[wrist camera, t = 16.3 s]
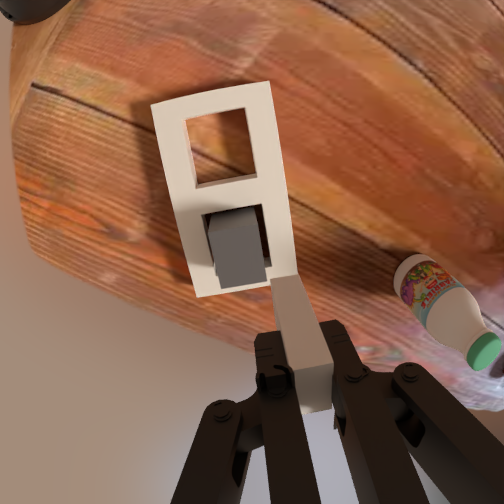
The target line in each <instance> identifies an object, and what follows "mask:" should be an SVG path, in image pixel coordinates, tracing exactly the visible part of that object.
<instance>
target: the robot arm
mask: <svg viewBox="0 0 504 504" xmlns="http://www.w3.org/2000/svg"><path fill="white" fill-rule="evenodd" d="M69 1H70V0H0V11H1V13H3V15H4V16H5V17H6V18H7V19H9V20H11V21H13V22H16V23H19V24H25V25H27V24H34V23H37V22H40V21H42V20H45V19H47V18H48V17H50V16H52V15H53V14H55V13H56V12H58V11H59V10H60V9H61V8H63V7H64V6H65V5H66V4H67V3H68V2H69ZM270 283H271V291H272V299H273V307H274V314H275V322H276V327H277V331H272V332H266V333H260V334H258V335H257V337H256V339H255V341H254V347H255V356H256V366H257V373H256V384H257V390H256V392H255V393H254V394H253V395H252V396H251V397H249V398H248V399H246V400H243V401H241V402H238V403H235V402H234V401H231V400H227V399H226V400H218V401H215V402H213V403H211V404H210V405H209V406H207V408H206V409H205V411H204V413H203V416H202V418H201V421H200V424H199V427H198V429H197V432H196V435H195V438H194V441H193V443H192V446H191V449H190V452H189V454H188V457H187V460H186V462H185V465H184V468H183V471H182V473H181V476H180V479H179V481H178V484H177V487H176V490H175V492H174V495H173V498H172V500H171V503H170V504H240V499H241V496H242V491H243V487H244V483H245V479H246V475H247V470H248V466H249V462H250V457H251V452H252V450H254V449H256V448H259V447H261V446H263V445H264V447H265V457H266V465H267V474H268V483H269V491H270V500H271V504H321V500H320V495H319V491H318V487H317V482H316V477H315V472H314V468H313V463H312V459H311V454H310V450H309V446H308V441H307V436H306V432H305V427H304V423H303V418H302V415H303V414H308V413H313V412H318V411H323V410H328V409H331V408H332V403H333V406H334V409H335V415H334V429H336V428H337V429H338V432H339V435H340V439H341V442H342V445H343V449H344V452H345V455H346V459H347V462H348V466H349V469H350V473H351V476H352V480H353V483H354V486H355V490H356V494H357V497H358V501H359V504H430V503H429V501H428V498H427V496H426V493H425V490H424V488H423V486H422V483H421V481H420V478H419V476H418V474H417V471H416V469H415V466H414V464H413V461H412V459H411V457H410V454H411V455H412V456H413V458H414V459H415V460H416V461H417V462H418V464H419V465H420V466H421V468H422V469H423V470H424V471H425V472H426V474H427V475H428V476H429V477H430V479H431V480H432V481H433V482H434V484H435V485H436V486H437V487H438V489H439V490H440V491H441V492H442V493H443V495H444V496H445V497H446V498H447V500H448V501H449V502H450V503H451V504H504V446H503V444H502V443H501V442H500V441H499V440H498V439H497V438H496V437H495V436H493V434H491V433H490V431H489V430H488V429H486V427H484V426H483V424H481V422H480V421H478V420H477V418H475V417H474V416H473V415H472V414H471V413H470V412H469V411H468V410H467V409H466V408H465V407H464V406H463V405H462V404H461V403H460V402H459V401H458V400H457V399H456V398H455V397H454V396H453V395H452V394H451V393H450V392H449V391H448V390H447V389H446V388H445V387H444V386H442V385H441V384H440V383H439V382H438V381H437V380H436V379H435V378H434V377H433V376H432V375H431V374H430V373H429V372H428V371H427V370H426V369H425V368H423V367H422V366H421V365H419V364H416V363H413V362H406V363H403V364H400V365H399V366H397V367H396V368H395V370H394V372H375V371H371V370H370V369H369V367H367V366H366V365H364V364H362V362H361V360H360V358H359V356H358V354H357V352H356V350H355V347H354V345H353V343H352V341H351V340H350V337H349V335H348V334H347V331H346V329H345V327H344V325H343V324H341V323H340V322H339V321H337V320H330V321H325V322H320V323H318V320H317V318H316V315H315V313H314V310H313V308H312V305H311V303H310V300H309V298H308V295H307V293H306V290H305V288H304V285H303V283H302V281H301V278H300V276H299V274H297V275H290V276H284V277H278V278H272V279H270ZM408 451H409V452H408ZM409 453H410V454H409Z"/></svg>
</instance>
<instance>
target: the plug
mask: <svg viewBox="0 0 504 504" xmlns="http://www.w3.org/2000/svg"><path fill="white" fill-rule="evenodd" d="M208 236H209V240H210V244H211V249H212V253H213V257H214V262H215V266H216V270H217V274H218V278H219V283H220V287H221V289H225V288H231V287H237V286H243V285H249V284H255V283H260V282H266V281H267V276H266V270H265V264H264V258H263V252H262V246H261V240H260V234H259V228H258V223H257V219H256V214H255V210H254V207H250V208H244V209H238V210H233V211H227V212H222V213H216V214H212V216H211V221H210V225H209V230H208Z"/></svg>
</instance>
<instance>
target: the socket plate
mask: <svg viewBox="0 0 504 504" xmlns="http://www.w3.org/2000/svg"><path fill="white" fill-rule="evenodd" d="M243 108H244V109H245V114H246V120H247V126H248V131H249V137H250V143H251V148H252V154H253V160H254V166H255V172H256V173H255V174H250V175H244V176H238V177H233V178H228V179H222V180H217V181H212V182H207V183H202V184H198V181H197V176H196V171H195V166H194V162H193V157H192V152H191V147H190V142H189V137H188V132H187V127H186V122H185V120H187V119H191V118H196V117H201V116H205V115H210V114H215V113H220V112H226V111H231V110H237V109H243ZM151 110H152V115H153V120H154V125H155V130H156V135H157V140H158V145H159V149H160V154H161V159H162V163H163V168H164V172H165V176H166V181H167V185H168V189H169V194H170V198H171V202H172V206H173V210H174V214H175V218H176V222H177V226H178V230H179V234H180V238H181V241H182V245H183V249H184V253H185V256H186V260H187V264H188V267H189V271H190V275H191V278H192V282H193V285H194V289H195V292H196V296H197V298H198V297H204V296H210V295H216V294H222V293H228V292H234V291H240V290H246V289H251V288H257V287H263V286H268V285H271V283H270V279H272V278H278V277H284V276H290V275H297V274H298V272H297V263H296V255H295V247H294V239H293V231H292V224H291V216H290V209H289V202H288V195H287V188H286V181H285V174H284V167H283V161H282V154H281V148H280V142H279V135H278V129H277V123H276V117H275V111H274V105H273V100H272V94H271V88H270V83H269V81H265V82H258V83H251V84H245V85H239V86H233V87H227V88H222V89H216V90H211V91H206V92H201V93H197V94H192V95H188V96H184V97H179V98H175V99H171V100H167V101H163V102H159V103H156V104H152V105H151ZM256 204H261V207H262V213H263V219H264V225H265V231H266V237H267V243H268V250H269V256H270V257H265V258H264V264H265V270H266V276H267V281H266V282H260V283H255V284H249V285H243V286H237V287H231V288H225V289H221V287H220V283H219V278H218V274H217V270H216V266H215V262H214V257H213V253H212V249H211V244H210V240H209V236H208V226H207V222H206V217H205V214H207V213H212V212H217V211H223V210H228V209H233V208H239V207H244V206H250V205H256Z"/></svg>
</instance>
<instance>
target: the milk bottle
mask: <svg viewBox="0 0 504 504" xmlns="http://www.w3.org/2000/svg"><path fill="white" fill-rule="evenodd" d="M394 289H395V292H396V293H397V295H398V296H399V297H400V299H401V300H402V301H403V302H404V304H405V305H406V306H407V307H408V308H409V310H410V311H411V312H412V313H413V315H414V316H415V317H416V318H417V319H418V321H419V322H420V323H421V324H422V326H423V327H424V328H425V329H426V330H427V332H428V333H429V334H430V335H431V336H432V337H433V338H434V339H435V340H437V341H438V342H439V343H441V344H443V345H445V346H448V347H451V348H454V349H456V350H458V351H460V352H461V353H462V354H464V359H465V360H466V361H467V363H468V364H469V366H470V367H471V368H472V369H473V370H475V371H479V370H482V369H484V368H486V367H487V366H488V365H490V364H491V363H492V362H493V360H494V359H495V358H496V357H497V355H498V353H499V351H500V349H501V341H500V339H499V337H498V336H497V335H496V334H495V333H493V331H492V330H491V329H487V328H486V326H485V324H484V322H483V319H482V316H481V313H480V309H479V306H478V304H477V302H476V300H475V299H474V297H473V296H472V295H471V293H470V292H469V291H468V290H467V289H466V288H465V287H464V286H463V285H462V284H461V283H459V282H458V281H457V280H456V279H455V278H454V277H453V276H452V275H450V274H449V273H448V272H447V271H446V270H445V269H443V268H442V267H441V266H440V265H439V264H437V263H436V262H435V261H434V260H433V259H431V258H430V257H428V256H427V255H424V254H415V255H412V256H410V257H408V258H407V259H405V260H404V261H403V262H402V263H401V264H400V266H399V267H398V268H397V270H396V272H395V275H394Z"/></svg>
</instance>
